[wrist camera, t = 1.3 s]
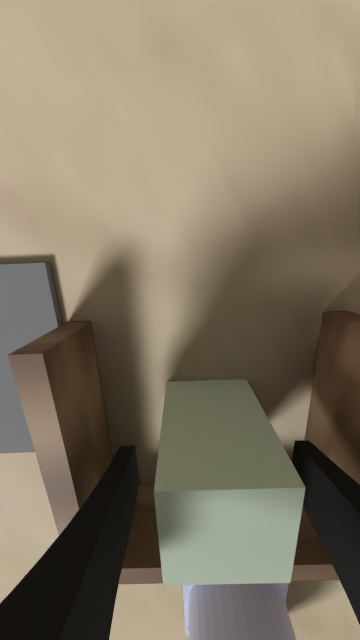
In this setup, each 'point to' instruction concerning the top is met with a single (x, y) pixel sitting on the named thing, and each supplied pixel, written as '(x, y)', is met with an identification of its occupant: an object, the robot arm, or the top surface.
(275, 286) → the top surface
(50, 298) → the mat
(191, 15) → the top surface
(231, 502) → the block
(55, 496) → the wooden u-shaped shelf
